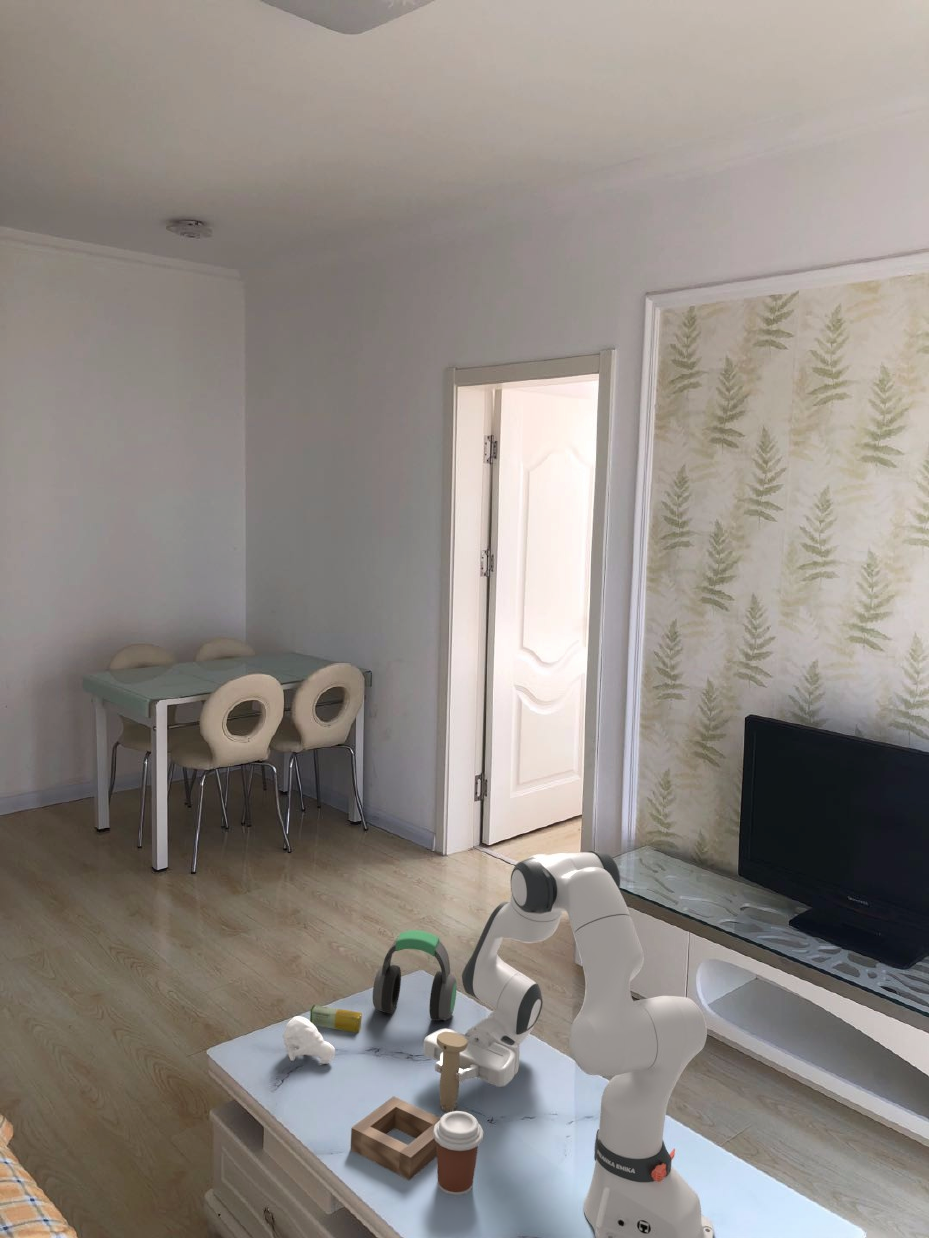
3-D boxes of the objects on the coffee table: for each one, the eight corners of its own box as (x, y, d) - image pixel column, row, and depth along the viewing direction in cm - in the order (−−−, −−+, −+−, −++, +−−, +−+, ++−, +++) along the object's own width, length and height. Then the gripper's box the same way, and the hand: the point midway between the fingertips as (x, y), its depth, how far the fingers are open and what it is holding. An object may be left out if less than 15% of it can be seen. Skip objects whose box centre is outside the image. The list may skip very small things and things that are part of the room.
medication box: (308, 1025, 236) (309, 1009, 236) (312, 1019, 239) (313, 1003, 238) (358, 1033, 234) (359, 1017, 233) (362, 1027, 237) (362, 1011, 236)
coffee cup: (419, 1183, 184) (423, 1121, 183) (453, 1160, 191) (456, 1100, 189) (457, 1208, 178) (461, 1144, 177) (490, 1183, 185) (494, 1122, 184)
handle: (454, 1119, 203) (458, 1049, 202) (428, 1107, 207) (432, 1038, 205) (467, 1108, 207) (471, 1039, 206) (442, 1096, 211) (446, 1028, 209)
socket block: (449, 1144, 195) (451, 1122, 195) (409, 1180, 185) (410, 1157, 184) (392, 1116, 203) (393, 1095, 202) (350, 1149, 192) (351, 1127, 192)
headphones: (456, 1008, 248) (461, 930, 245) (448, 1030, 237) (452, 949, 235) (381, 997, 251) (385, 920, 249) (369, 1019, 240) (373, 938, 238)
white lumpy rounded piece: (297, 1007, 226) (344, 1026, 222) (293, 1042, 228) (339, 1061, 223) (282, 1020, 221) (329, 1039, 216) (277, 1056, 222) (324, 1076, 217)
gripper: (445, 1014, 222) (407, 1040, 211) (526, 1046, 211) (490, 1076, 200) (443, 1041, 223) (406, 1069, 211) (524, 1075, 212) (488, 1106, 200)
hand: (447, 1073), depth 205 cm, fingers closed on handle, 3 cm apart
